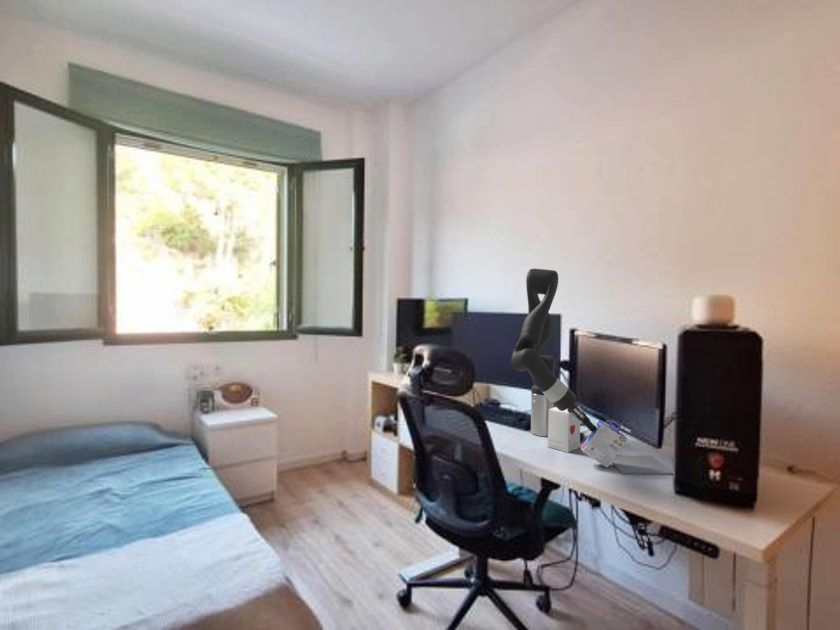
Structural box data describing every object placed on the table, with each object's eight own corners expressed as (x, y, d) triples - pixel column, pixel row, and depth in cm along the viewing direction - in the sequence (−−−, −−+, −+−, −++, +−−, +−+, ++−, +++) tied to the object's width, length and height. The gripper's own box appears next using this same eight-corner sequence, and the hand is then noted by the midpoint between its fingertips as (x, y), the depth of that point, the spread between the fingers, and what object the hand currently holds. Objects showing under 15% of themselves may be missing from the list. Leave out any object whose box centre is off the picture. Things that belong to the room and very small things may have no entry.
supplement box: (568, 453, 169) (568, 413, 168) (547, 447, 175) (547, 408, 175) (580, 447, 175) (581, 409, 174) (559, 442, 181) (560, 405, 181)
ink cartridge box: (604, 463, 159) (629, 429, 157) (607, 469, 153) (633, 434, 151) (579, 446, 160) (603, 413, 158) (582, 452, 155) (607, 417, 153)
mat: (603, 456, 165) (604, 455, 165) (651, 457, 164) (651, 455, 164) (622, 474, 149) (622, 472, 149) (675, 474, 149) (675, 472, 148)
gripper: (572, 390, 150) (609, 427, 150) (561, 382, 163) (595, 417, 163) (555, 406, 150) (592, 443, 150) (545, 397, 163) (579, 431, 163)
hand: (593, 429), depth 156 cm, fingers closed
